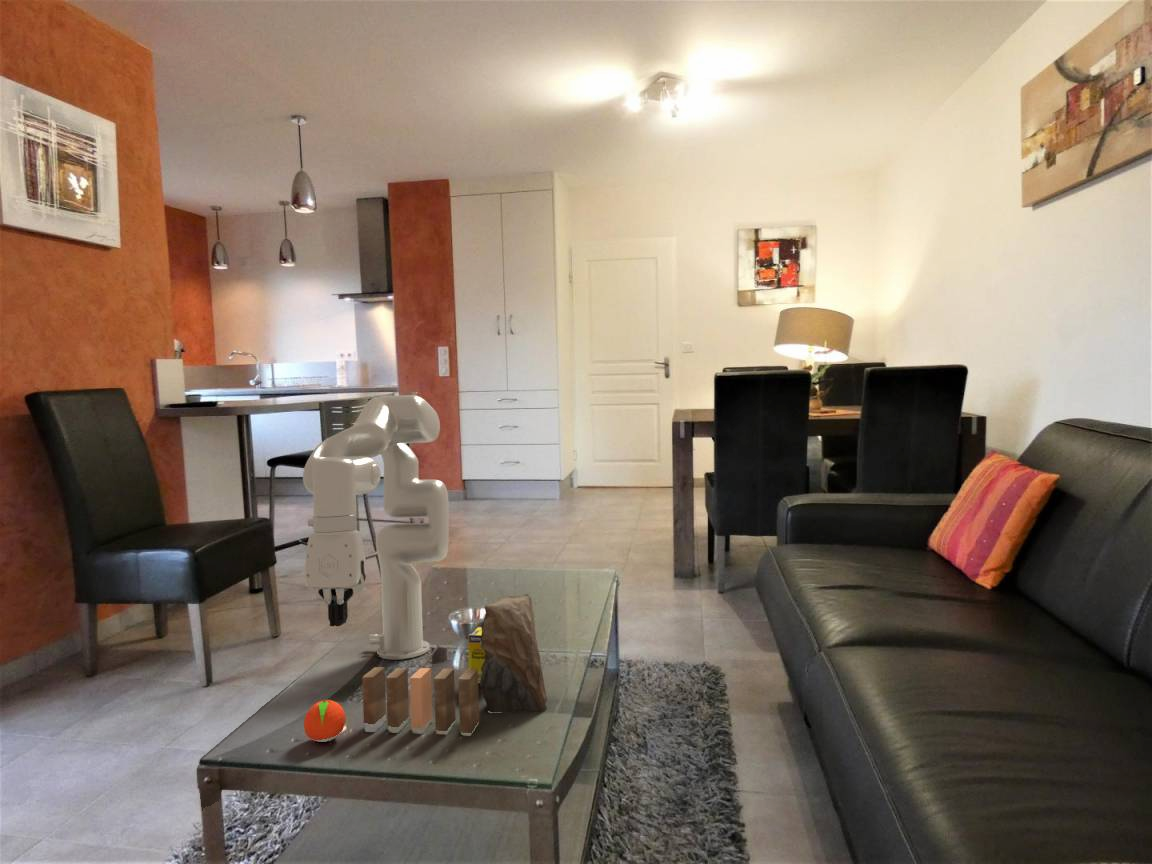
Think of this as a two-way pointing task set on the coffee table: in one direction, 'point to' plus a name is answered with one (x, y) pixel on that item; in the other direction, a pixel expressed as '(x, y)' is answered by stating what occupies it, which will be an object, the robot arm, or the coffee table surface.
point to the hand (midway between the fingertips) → (338, 624)
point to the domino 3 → (421, 698)
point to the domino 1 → (374, 695)
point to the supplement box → (476, 652)
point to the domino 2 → (397, 697)
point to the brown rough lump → (511, 657)
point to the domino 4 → (444, 699)
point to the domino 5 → (468, 700)
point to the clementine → (324, 720)
